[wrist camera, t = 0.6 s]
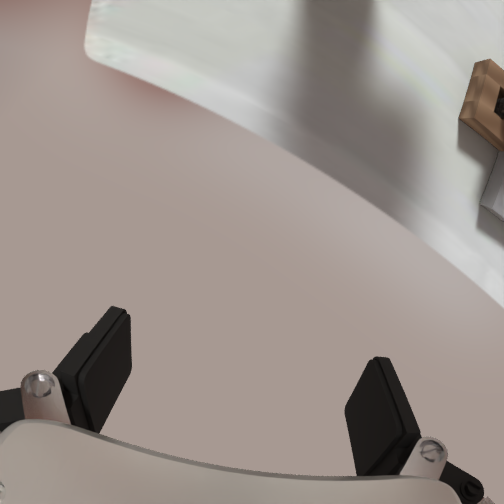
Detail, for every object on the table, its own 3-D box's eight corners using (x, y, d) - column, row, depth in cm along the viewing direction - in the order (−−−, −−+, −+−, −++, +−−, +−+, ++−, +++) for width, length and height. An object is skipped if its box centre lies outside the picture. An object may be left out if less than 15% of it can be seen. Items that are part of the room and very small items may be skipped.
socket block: (475, 62, 30) (490, 58, 26) (518, 100, 31) (533, 100, 27) (458, 118, 33) (474, 117, 30) (503, 154, 34) (519, 157, 30)
